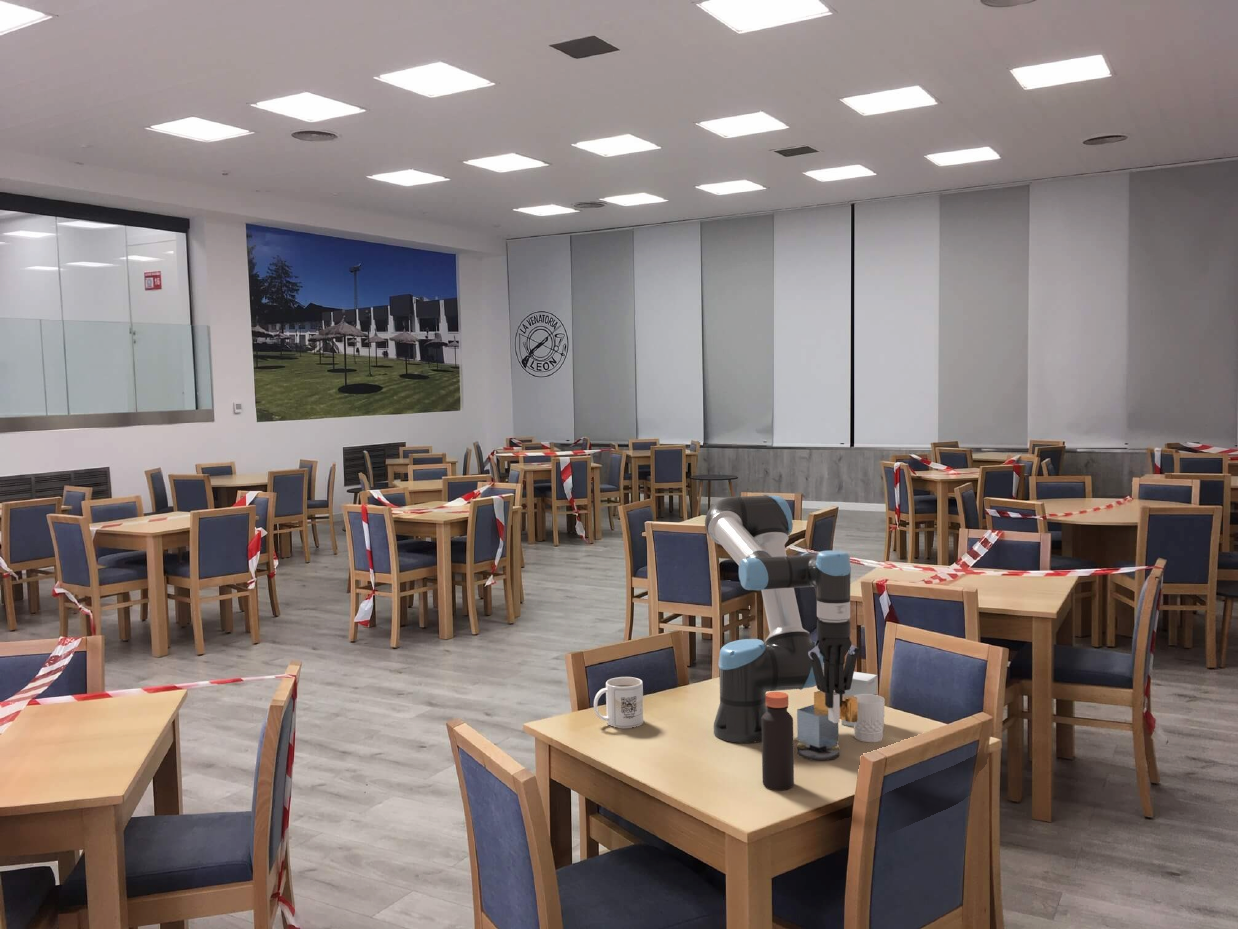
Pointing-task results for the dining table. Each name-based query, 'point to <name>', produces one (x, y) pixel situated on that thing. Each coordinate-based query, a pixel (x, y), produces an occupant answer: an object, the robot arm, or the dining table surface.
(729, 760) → the dining table surface
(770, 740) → the bottle
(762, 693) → the robot arm
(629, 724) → the mug
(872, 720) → the white cup
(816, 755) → the dark grey cylinder
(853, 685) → the supplement box
